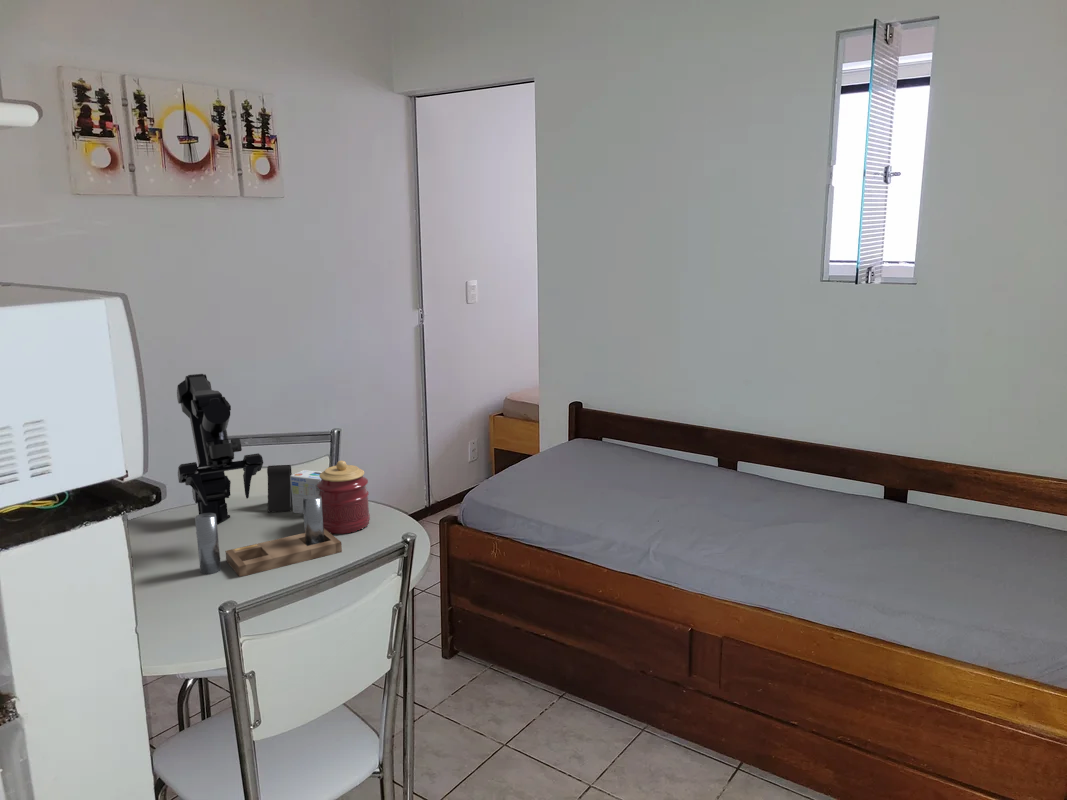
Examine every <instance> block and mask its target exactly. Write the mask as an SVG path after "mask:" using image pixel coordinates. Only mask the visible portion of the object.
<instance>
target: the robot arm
mask: <svg viewBox="0 0 1067 800" xmlns="http://www.w3.org/2000/svg"><path fill="white" fill-rule="evenodd" d="M184 378H185V379H184V380H183V381H181V382H180V383H179V384H177V387H176V388H177V389H176V398H177V403H178V405H179V404H180V407H181V408H180V409H181V412H182V413H184V415H186V417H188V418H189V421H190V425H191V431H192V438H193V442H194V447H195V454H196V458H197V461H193V462H187V463H181V464H179V465H178V468H177V480H178V483H180V484H183V483H184V484H185V486H190V487H191V488H192V489H191V490H192V491H191V492H192V494H191V495H192V499H193V501H194V503H195V504H197V510H198V515H199V514H203V513H215V514H216V519H217V525H219V524H221V523H222V522H225V521H226V520H228V519H230V518H231V515H230V514H228V512H229V511H228V504H227V502H226V499H229V498H230V496H231V483H232V482H231V479H229V477H228V475H226V473H225V472H228V471H234V470H240V469H242V470H243V474H242V477H243V485H244V495H245V498H246V499H249V497H250V490H251V489H250V488H251V482H252V477H253V476H256V475H257V473H258V472H260V471H262V469H263V464H264V458H263V456H262V455H261V454H260V453H259V452H258V453H250V454H245V455H244V456H243V458H242V460H236V461H235V460H234V459H235V453H238V452H242V450H243V449H242V442H241V439H240V437H238V438H231V439H230V440H229V437H228V430H227V428H228V426H229V421H230V417H231V410H232V409H231V408H232V407H231V404H230V403H229V401H228V400H227V398H226V397H225V396H223V394H222V392H220V391H219V390H215V389H214V390H213V389H212V385H211V381H209V380H208V378H207V375H206V374H205V373H196V374H195V373H194V374H188V375H185V377H184ZM233 460H234V461H233Z"/></svg>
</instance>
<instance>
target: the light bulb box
mask: <svg viewBox="0 0 1067 800" xmlns="http://www.w3.org/2000/svg"><path fill="white" fill-rule="evenodd" d="M322 472H323V471H319V470H308V469H302V470H301V471H298V472H296V473H294V474H292V475H291V476H290V479H291V492H292V505H293V507H292V513H293V514H294V513H295V514H301V515H304V512H303V498H304V497H306V496H309V495H319V488H318V487H317V483H318V482H319V481H320V480H321V478H320V474H321V473H322Z"/></svg>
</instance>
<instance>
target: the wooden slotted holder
mask: <svg viewBox="0 0 1067 800" xmlns="http://www.w3.org/2000/svg"><path fill="white" fill-rule="evenodd" d="M342 551H343V549H342V541H341V540H339V539H338V538H337V537H336V536H334V535H333V533H329V532H328V531H327V530H326V529H324V542H322V543H318V544H314V545H309V546H307V545H306V542H305V532H303V533H299V534H294V535H289V536H285V537H284V536H283V537H281V538H277V539H272V540H267V541H263V542H258V543H253V544H250V545H246V546H241V547H237V548H232V549H228V550H225V561H226V563H228V565H229V566H230V567H231V568H232V570H233V571H234V572H235V573H236V575H238V577H239V578H241V577H246V576H249V575H253V574H258V573H261V572H266V571H269V570H274V569H278V568H282V567H286V566H291V565H294V564H298V563H304V562H306V561H310V560H311V561H312V560H315V559H318V558H319V559H320V558H322V557H326V556H331V555H335V554H338V553H342Z"/></svg>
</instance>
